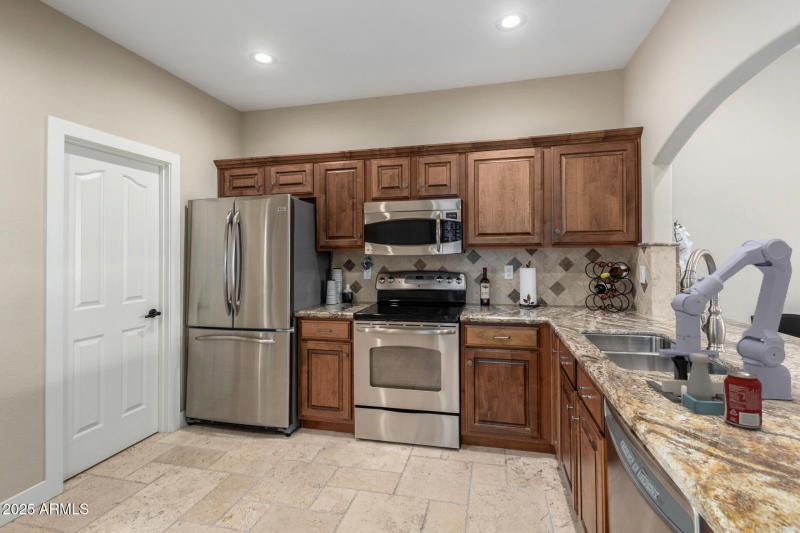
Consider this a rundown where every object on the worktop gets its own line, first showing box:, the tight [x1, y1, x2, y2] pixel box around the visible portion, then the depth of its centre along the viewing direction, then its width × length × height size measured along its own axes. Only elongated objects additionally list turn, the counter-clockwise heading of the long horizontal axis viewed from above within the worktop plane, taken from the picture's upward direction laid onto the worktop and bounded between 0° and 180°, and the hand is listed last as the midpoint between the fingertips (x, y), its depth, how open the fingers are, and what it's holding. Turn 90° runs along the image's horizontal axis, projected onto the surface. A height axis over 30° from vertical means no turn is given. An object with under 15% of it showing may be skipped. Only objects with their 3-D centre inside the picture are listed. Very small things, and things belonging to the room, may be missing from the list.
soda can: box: [722, 369, 763, 430], centre depth 91 cm, size 7×7×12 cm
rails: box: [645, 379, 724, 404], centre depth 112 cm, size 15×17×1 cm
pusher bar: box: [661, 363, 723, 398], centre depth 113 cm, size 15×8×8 cm, turn 79°
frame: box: [680, 385, 724, 416], centre depth 100 cm, size 12×7×5 cm, turn 79°
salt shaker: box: [687, 353, 714, 401], centre depth 106 cm, size 6×6×13 cm
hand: (688, 382), depth 112 cm, fingers closed on pusher bar, 2 cm apart
